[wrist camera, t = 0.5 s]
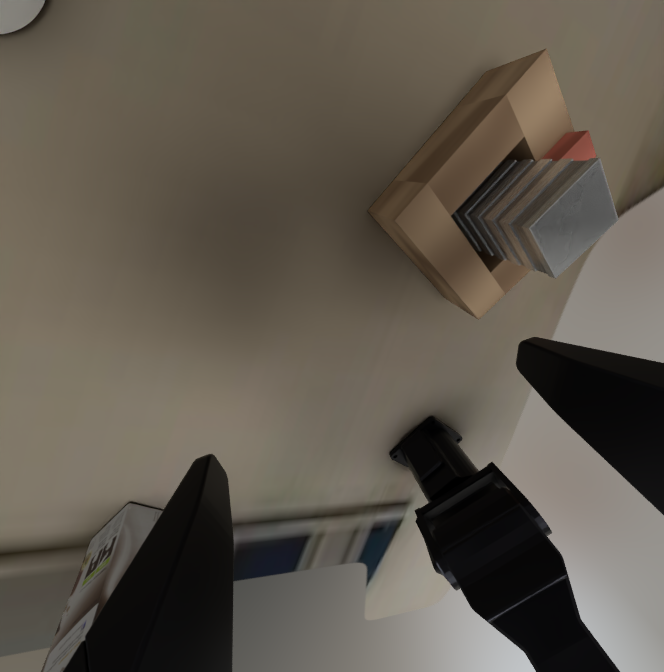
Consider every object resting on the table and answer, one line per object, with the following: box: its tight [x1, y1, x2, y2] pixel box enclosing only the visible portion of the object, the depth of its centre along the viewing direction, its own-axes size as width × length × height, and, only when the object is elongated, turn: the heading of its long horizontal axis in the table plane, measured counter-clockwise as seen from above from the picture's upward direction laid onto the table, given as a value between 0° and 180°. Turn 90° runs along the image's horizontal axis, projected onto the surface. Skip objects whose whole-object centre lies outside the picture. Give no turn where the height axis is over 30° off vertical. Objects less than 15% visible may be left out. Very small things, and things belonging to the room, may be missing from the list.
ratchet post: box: [451, 158, 618, 279], centre depth 17 cm, size 4×4×8 cm
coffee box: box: [41, 503, 163, 672], centre depth 22 cm, size 9×6×16 cm
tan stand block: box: [368, 49, 596, 320], centre depth 19 cm, size 10×10×5 cm
